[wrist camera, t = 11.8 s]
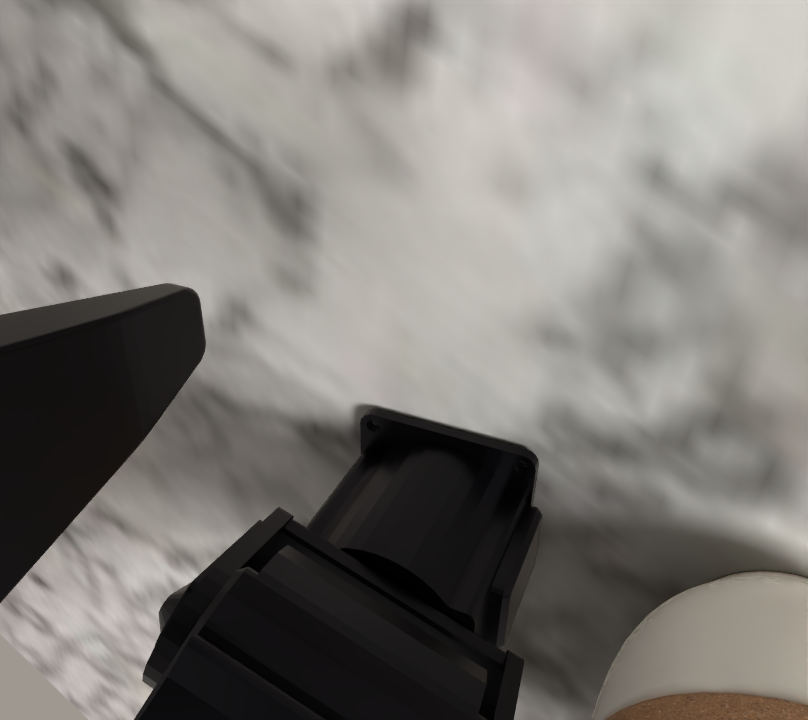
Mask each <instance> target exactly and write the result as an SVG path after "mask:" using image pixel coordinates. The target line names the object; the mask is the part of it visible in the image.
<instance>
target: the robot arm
mask: <svg viewBox="0 0 808 720" xmlns="http://www.w3.org/2000/svg"><path fill="white" fill-rule="evenodd" d="M205 346H206V340H205V332H204V325H203V318H202V311H201V303H200V299H199V296H198V294H197V293H196V292H195V291H194V290H193V289H191V288H188V287H184V286H179V285H175V284H170V283H166V284H160V285H154V286H149V287H144V288H139V289H133V290H128V291H123V292H118V293H112V294H107V295H102V296H97V297H92V298H86V299H81V300H76V301H71V302H65V303H60V304H55V305H50V306H44V307H39V308H34V309H29V310H23V311H18V312H13V313H8V314H3V315H0V603H1V602H2V601H3V599H4V598H5V597H6V596H7V595H8V594H9V593H10V592H11V590H12V589H13V588H14V587H15V586H16V585H17V584H18V582H19V581H20V580H21V579H22V578H23V577H24V576H25V574H26V573H27V572H28V571H29V570H30V569H31V568H32V567H33V565H34V564H35V563H36V562H37V561H38V560H39V559H40V557H41V556H42V555H43V554H44V553H45V552H46V551H47V550H48V548H49V547H50V546H51V545H52V544H53V543H54V542H55V540H56V539H57V538H58V537H59V536H60V535H61V534H62V533H63V531H64V530H65V529H66V528H67V527H68V526H69V525H70V523H71V522H72V521H73V520H74V519H75V518H76V517H77V515H78V514H79V513H80V512H81V511H82V510H83V509H84V508H85V506H86V505H87V504H88V503H89V502H90V501H91V500H92V498H93V497H94V496H95V495H96V494H97V493H98V492H99V491H100V489H101V488H102V487H103V486H104V485H105V484H106V483H107V481H108V480H109V479H110V478H111V477H112V476H113V475H114V474H115V472H116V471H117V470H118V469H119V468H120V467H121V466H122V464H123V463H124V462H125V461H126V460H127V459H128V458H129V457H130V455H131V454H132V453H133V452H134V451H135V450H136V448H137V447H138V446H139V445H140V444H141V442H142V441H143V440H144V439H145V437H146V436H147V435H148V433H149V432H150V431H151V429H152V428H153V427H154V425H155V424H156V423H157V421H158V420H159V418H160V417H161V416H162V414H163V413H164V411H165V410H166V409H167V407H168V406H169V404H170V403H171V402H172V400H173V399H174V397H175V396H176V395H177V393H178V392H179V390H180V389H181V388H182V386H183V385H184V383H185V382H186V381H187V379H188V378H189V376H190V375H191V374H192V372H193V371H194V369H195V368H196V367H197V365H198V364H199V362H200V361H201V359H202V357H203V355H204V352H205ZM372 420H373V421H375V422H377V424H378V425H379V426H377V425H375V424H374V423H373V422H372ZM360 424H361V456H360V457H359V459H358V460H357V461H356V462H355V464H354V465H353V466H352V468H351V469H350V470H349V472H348V473H347V474H346V476H345V477H344V478H343V479H342V481H341V482H340V483H339V485H338V486H337V487H336V489H335V490H334V491H333V493H332V494H331V495H330V496H329V498H328V499H327V500H326V502H325V503H324V504H323V506H322V507H321V508H320V510H319V511H318V512H317V513H316V515H315V516H314V517H313V519H312V520H311V521H310V523H309V524H308V525H307V527H304V526H303V525H301V524H300V523H298V522H296V521H295V520H293V517H294V516H293V515H291V514H289V513H288V512H286V511H285V510H283V509H281V508H280V507H278V508H277V509H276V510H275V511H274V512H273V513H272V514H271V515H269V516H268V517H267V518H266V519H265V520H264V521H261V520H259V521H258V522H257V523H256V524H255V525H254V526H252V527H251V528H250V529H249V530H248V531H247V532H246V533H245V534H244V535H243V536H242V537H240V538H239V539H238V540H237V541H236V542H235V543H234V544H233V545H232V546H231V547H229V548H228V549H227V550H226V551H225V552H224V553H223V554H222V555H221V556H220V557H218V558H217V559H216V560H215V561H214V562H213V563H212V564H211V565H210V566H209V567H208V568H206V569H205V570H204V571H203V572H202V573H201V574H200V575H199V576H198V577H197V578H195V579H194V580H193V581H192V582H191V583H189V584H188V585H186V586H184V587H183V588H181V589H179V590H178V591H176V592H174V593H173V594H171V595H170V596H169V597H168V598H167V600H166V601H165V602H164V604H163V605H162V607H161V609H160V611H159V621H160V630H161V633H160V635H159V637H158V640H157V642H156V644H155V648H154V649H153V651H152V653H151V656H150V658H149V660H148V662H147V664H146V667H145V670H144V673H143V680H142V681H143V682H144V683H146V684H147V685H149V686H150V687H151V688H153V691H152V692H151V694H150V696H149V697H148V699H147V700H146V702H145V703H144V705H143V706H142V708H141V710H140V711H139V713H138V714H137V716H136V717H135V719H134V720H514V715H515V709H516V704H517V698H518V693H519V687H520V682H521V676H522V671H523V666H524V660H523V659H522V658H520V657H519V656H517V655H515V654H514V653H512V652H511V651H509V650H508V651H507V652H505V651H503V650H501V649H500V647H502V646H504V645H505V642H506V639H507V637H508V634H509V631H510V629H511V626H512V623H513V621H514V618H515V615H516V613H517V610H518V607H519V605H520V602H521V599H522V597H523V594H524V591H525V589H526V586H527V583H528V581H529V578H530V575H531V573H532V570H533V567H534V564H535V559H536V553H537V546H538V540H539V534H540V527H541V521H542V514H541V512H540V510H539V509H538V508H537V507H533V500H534V493H535V487H536V480H537V473H538V466H539V462H538V458H537V457H536V455H535V454H534V453H533V452H531V451H529V450H527V449H524V448H520V447H517V446H513V445H509V444H505V443H502V442H498V441H494V440H491V439H487V438H483V437H479V436H476V435H472V434H468V433H465V432H461V431H457V430H454V429H450V428H446V427H442V426H439V425H435V424H431V423H428V422H424V421H420V420H416V419H413V418H409V417H405V416H402V415H398V414H394V413H391V412H387V411H383V410H379V409H370V410H368V411H367V413H366V414H365V415H364V416H363V417H362V419H361V423H360ZM518 461H522V462H524V463H526V464H527V466H528V467H524V466H522V465H520V464H519V463H518Z"/></svg>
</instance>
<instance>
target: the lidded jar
mask: <svg viewBox="0 0 808 720" xmlns="http://www.w3.org/2000/svg"><path fill="white" fill-rule="evenodd" d="M591 720H808V578H806V577H802V576H798V575H794V574H788V573H782V572H771V571H752V572H742V573H737V574H731V575H728V576H725V577H722V578H719V579H716V580H714V581H712V582H709V583H705V584H702V585H699V586H696V587H693V588H690V589H688V590H686V591H684V592H682V593H680V594H678V595H676V596H674V597H672V598H670V599H669V600H667V601H666V602H664V603H663V604H661V605H660V606H659V607H657V608H656V609H655V610H653V611H652V612H651V613H649V614H648V615H647V616H646V617H645V618H644V620H643V621H642V622H641V623H640V624H639V625H638V626H637V627H636V628H635V629H634V631H633V632H632V633H631V634H630V635H629V636H628V638H627V639H626V640H625V642H624V644H623V645H622V647H621V649H620V651H619V652H618V654H617V656H616V657H615V659H614V661H613V663H612V665H611V667H610V669H609V671H608V673H607V675H606V678H605V680H604V683H603V685H602V688H601V690H600V692H599V695H598V697H597V701H596V704H595V708H594V711H593V715H592V718H591Z"/></svg>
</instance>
